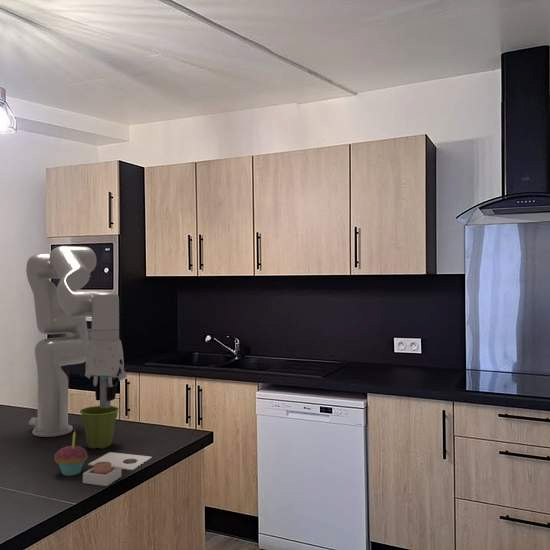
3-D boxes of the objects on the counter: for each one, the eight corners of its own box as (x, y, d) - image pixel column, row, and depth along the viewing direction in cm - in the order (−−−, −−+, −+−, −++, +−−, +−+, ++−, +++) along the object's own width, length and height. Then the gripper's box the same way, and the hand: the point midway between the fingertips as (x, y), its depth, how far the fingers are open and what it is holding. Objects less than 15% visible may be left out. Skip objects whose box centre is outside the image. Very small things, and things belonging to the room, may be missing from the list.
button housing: (82, 483, 148) (82, 473, 148) (98, 473, 155) (98, 464, 155) (106, 486, 146) (106, 476, 146) (121, 476, 153) (121, 467, 153)
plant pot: (126, 441, 183) (126, 406, 183) (105, 453, 172) (106, 415, 171) (93, 438, 186) (94, 403, 186) (71, 449, 175) (71, 412, 175)
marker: (97, 407, 163) (97, 369, 163) (103, 405, 166) (103, 367, 166) (106, 408, 162) (106, 369, 162) (113, 406, 165) (112, 367, 165)
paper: (88, 465, 161) (88, 463, 161) (109, 453, 172) (109, 451, 172) (132, 470, 157) (132, 469, 157) (151, 457, 168) (152, 456, 168)
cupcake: (93, 472, 155) (93, 428, 155) (63, 481, 149) (64, 434, 149) (77, 465, 161) (77, 422, 161) (47, 472, 155) (48, 428, 155)
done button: (90, 475, 149) (90, 466, 149) (99, 470, 153) (99, 460, 153) (105, 477, 147) (105, 468, 147) (114, 472, 152) (114, 462, 152)
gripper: (72, 336, 163) (72, 400, 163) (123, 337, 158) (123, 404, 158) (88, 333, 170) (88, 395, 170) (137, 335, 166) (137, 398, 165)
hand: (105, 399), depth 164 cm, fingers closed on marker, 3 cm apart
